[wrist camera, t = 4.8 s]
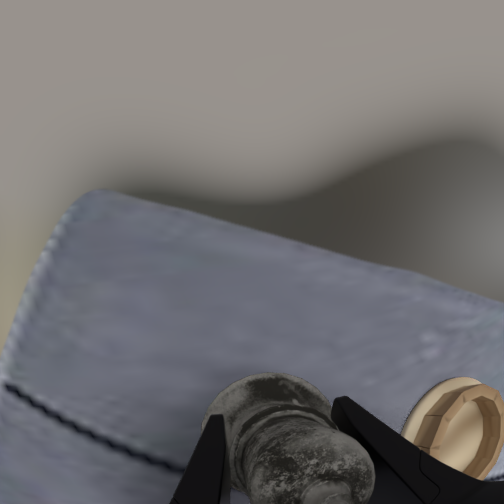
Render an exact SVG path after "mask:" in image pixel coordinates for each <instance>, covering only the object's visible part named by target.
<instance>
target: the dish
mask: <svg viewBox="0 0 504 504" xmlns="http://www.w3.org/2000/svg"><path fill="white" fill-rule="evenodd" d="M401 436H403V437H404V438H406V439H407V440H408V441H410V442H411V443H413V444H414V445H416V446H417V447H419V448H420V450H423V451H425V452H426V453H428V454H429V455H431V456H432V457H434V458H436V459H437V460H439V461H441V462H442V463H444V464H446V465H448V466H450V467H452V468H454V469H456V470H458V471H461V472H463V473H465V474H467V475H469V476H471V477H474V478H476V479H479V480H484V478H485V477H486V476H487V474H488V473H489V472H490V470H491V469H492V468H493V466H494V465H495V464H496V462H497V459H498V457H499V454H500V452H501V449H502V446H503V443H504V402H503V400H502V398H501V395H500V393H499V391H498V390H496V389H493V388H491V387H489V386H487V385H485V384H481V383H480V382H479V381H477V380H475V379H472V378H468V377H459V378H452V379H448V380H445V381H443V382H441V383H439V384H437V385H436V386H434V387H433V388H432V389H430V390H429V391H428V392H427V393H426V394H425V395H424V396H423V397H422V398H421V399H420V400H419V402H418V403H417V404H416V406H415V407H414V408H413V410H412V411H411V413H410V415H409V417H408V418H407V421H406V423H405V425H404V427H403V430H402V432H401Z"/></svg>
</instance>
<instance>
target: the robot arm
mask: <svg viewBox="0 0 504 504" xmlns="http://www.w3.org/2000/svg"><path fill="white" fill-rule="evenodd" d="M331 420H332V421H333V422H334V423H335V424H336V425H337V427H338V429H339V431H341V432H343V433H345V434H347V435H349V436H350V437H352V438H354V439H356V441H357V442H358V443H359V444H360V445H361V446H362V447H363V448H364V449H365V450H366V451H367V452H368V454H369V456H370V458H371V460H372V462H373V464H374V471H375V483H374V489H373V492H372V494H371V497H370V499H369V501H368V503H367V504H504V481H483V480H479V479H476V478H474V477H471V476H469V475H467V474H465V473H463V472H461V471H458V470H456V469H454V468H452V467H450V466H448V465H446V464H444V463H442V462H441V461H439V460H437V459H436V458H434V457H432V456H431V455H429V454H428V453H426V452H425V451H423V450H420V448H419V447H417V446H416V445H414V444H413V443H411V442H410V441H408V440H407V439H406V438H404V437H403V436H401V435H400V434H398V433H397V432H396V431H394V430H393V429H391V428H390V427H389V426H387V425H386V424H384V423H383V422H382V421H380V420H379V419H377V418H376V417H375V416H373V415H372V414H371V413H369V412H368V411H367V410H365V409H364V408H362V407H361V406H360V405H358V404H357V403H356V402H354V401H353V400H352V399H350V398H349V397H347V396H342V397H338V398H335V399H334V402H333V406H332V410H331ZM230 485H231V472H230V466H229V454H228V445H227V436H226V428H225V421H224V415H223V414H212V415H210V417H209V419H208V421H207V423H206V425H205V428H204V430H203V432H202V434H201V437H200V439H199V441H198V443H197V445H196V448H195V450H194V452H193V454H192V456H191V459H190V461H189V463H188V465H187V467H186V469H185V472H184V474H183V476H182V478H181V480H180V482H179V485H178V487H177V489H176V491H175V493H174V495H173V498H172V499H171V501H170V503H169V504H230Z"/></svg>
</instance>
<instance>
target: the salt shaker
mask: <svg viewBox="0 0 504 504" xmlns="http://www.w3.org/2000/svg"><path fill="white" fill-rule="evenodd" d="M331 410H332V408H331V406H330V404H329V402H328V400H327V399H326V397H325V396H324V395H323V394H322V393H321V392H320V391H319V390H318V389H317V388H316V387H315V386H313V385H311V384H310V383H308V382H307V381H305V380H303V379H302V378H298V377H295V376H292V375H289V374H285V373H269V372H267V373H262V374H256V375H250V376H248V377H245V378H243V379H241V380H238V381H236V382H234V383H232V384H231V385H230V386H228V387H227V388H226V389H224V390H223V391H222V392H221V393H219V394H218V396H217V397H216V398H215V399H214V401H213V402H212V403H211V405H210V406H209V407H208V409H207V412H206V414H205V417H204V419H203V422H202V427H201V434H202V432H203V430H204V428H205V425H206V423H207V421H208V419H209V417H210V415H212V414H223V415H224V421H225V428H226V436H227V445H228V454H229V466H230V472H231V485H230V486H231V487H233V488H234V489H236V490H238V491H241V492H244V493H245V494H246V495H247V496H248V497H249V499H250V503H251V504H367V503H368V501H369V499H370V497H371V494H372V492H373V489H374V483H375V471H374V464H373V462H372V460H371V458H370V456H369V454H368V452H367V451H366V450H365V449H364V448H363V447H362V446H361V445H360V444H359V443H358V442H357V441H356V439H354V438H352V437H350V436H349V435H347V434H345V433H343V432H341V431H339V429H338V427H337V425H336V424H335V423H334V422H333V421H332V420H331Z"/></svg>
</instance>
